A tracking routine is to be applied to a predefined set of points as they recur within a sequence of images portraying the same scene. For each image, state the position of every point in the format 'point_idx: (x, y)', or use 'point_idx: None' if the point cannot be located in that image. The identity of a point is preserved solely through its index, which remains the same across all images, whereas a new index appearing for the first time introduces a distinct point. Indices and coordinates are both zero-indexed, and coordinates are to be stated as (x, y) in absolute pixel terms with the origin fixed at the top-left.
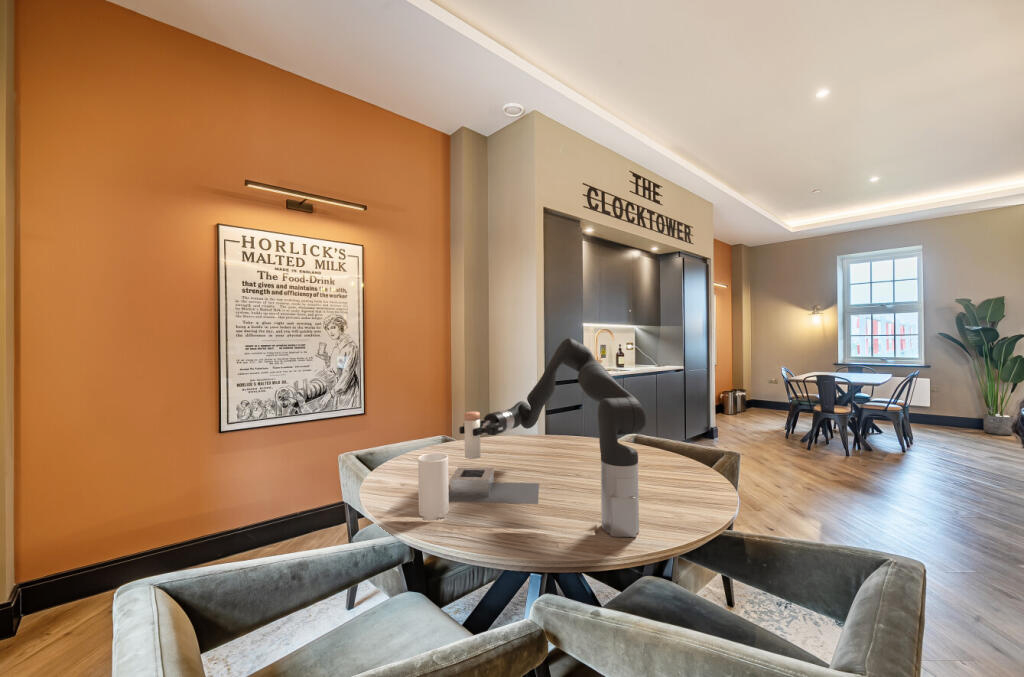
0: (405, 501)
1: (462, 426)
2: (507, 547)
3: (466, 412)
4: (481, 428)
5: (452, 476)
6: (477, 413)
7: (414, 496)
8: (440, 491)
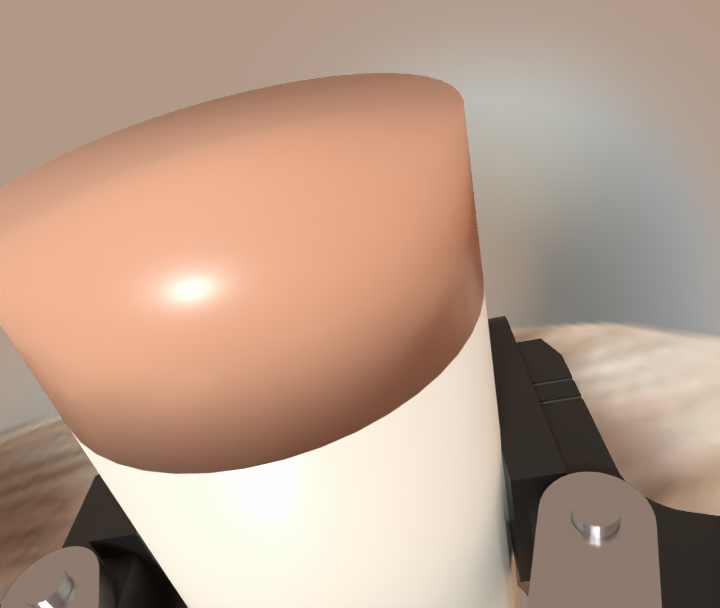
0: (641, 441)
1: (500, 349)
2: (3, 475)
3: (406, 95)
4: (107, 546)
5: (522, 597)
6: (14, 194)
7: (692, 503)
8: None
